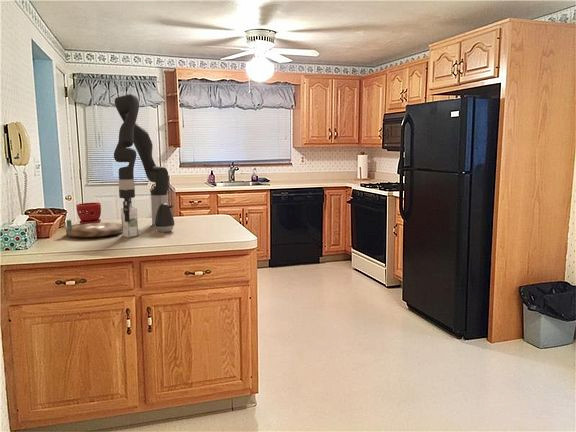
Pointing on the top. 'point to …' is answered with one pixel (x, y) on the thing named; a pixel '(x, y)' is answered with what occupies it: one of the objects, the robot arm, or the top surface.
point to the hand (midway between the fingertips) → (128, 220)
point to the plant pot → (89, 212)
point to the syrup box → (130, 223)
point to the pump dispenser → (164, 218)
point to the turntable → (93, 229)
